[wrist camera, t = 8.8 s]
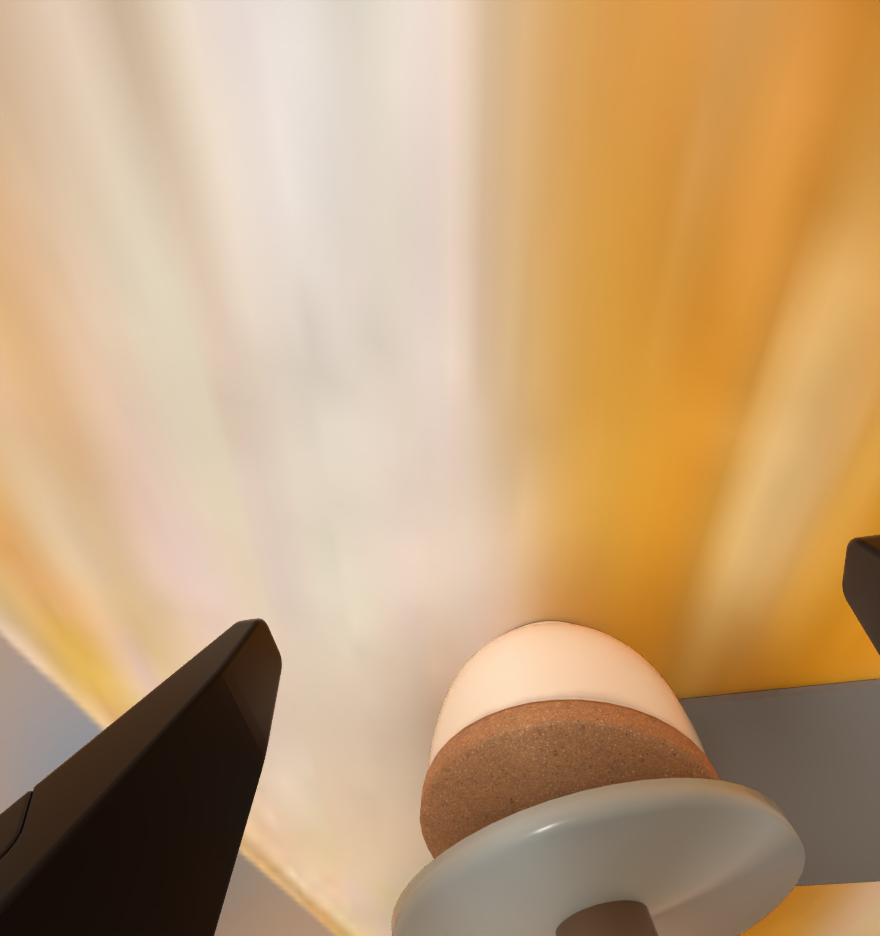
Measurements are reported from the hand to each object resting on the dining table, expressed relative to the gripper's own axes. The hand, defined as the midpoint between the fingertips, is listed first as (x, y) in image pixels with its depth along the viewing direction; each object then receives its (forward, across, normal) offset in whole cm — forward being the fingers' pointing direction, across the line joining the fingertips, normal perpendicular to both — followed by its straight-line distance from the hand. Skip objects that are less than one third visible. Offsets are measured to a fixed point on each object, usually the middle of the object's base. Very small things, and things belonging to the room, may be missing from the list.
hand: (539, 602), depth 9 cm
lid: (+3, 0, +15) cm, 15 cm away
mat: (+13, -10, +26) cm, 31 cm away
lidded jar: (+13, 0, +15) cm, 20 cm away
